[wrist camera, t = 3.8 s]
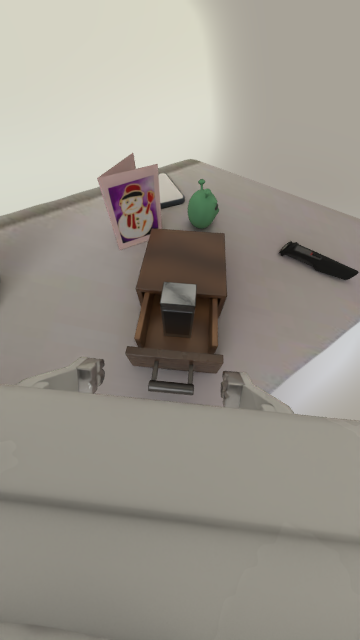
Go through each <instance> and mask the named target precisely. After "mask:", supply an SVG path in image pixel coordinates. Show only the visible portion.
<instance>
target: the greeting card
mask: <svg viewBox="0 0 360 640" xmlns="http://www.w3.org/2000/svg"><path fill="white" fill-rule="evenodd" d="M97 179H98V182H99V185H100V189H101V192H102V195H103V198H104V201H105V205H106V208H107V211H108V214H109V217H110V221H111V224H112V227H113V230H114V233H115V237H116V240H117V243H118V246H119V249H120V250H122V249H125V248H128V247H131V246H134V245H136V244H139V243H142V242H145V241H148V240H149V237H150V233H151V229H152V228H153V229H162V220H161V206H160V192H159V178H158V165H157V164H155V165H151V166H147V167H142V168H138V169H136V167H135V161H134V155H133V153H132V154H131V155H129V156H128V157H126V158H125V159H124V160H122V161H121V162H119V163H118V164H117V165H115V166H114V167H112V168H111V169H109V170H108V171H107V172H105V173H104V174H102V175H101V176H100V177H98V178H97Z"/></svg>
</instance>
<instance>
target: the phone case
mask: <svg viewBox="0 0 360 640" xmlns="http://www.w3.org/2000/svg"><path fill="white" fill-rule="evenodd" d="M158 178H159V192H160V206H161V208H165V207H169V206H173V205H177V204H182V203H184V201H185V197H184V196H183V194H182V193H181V192H180V190H179V189H178V188H177V187H176V185H175V184H174V183H173V182H172V180H171V179H170V178H169V177H168V175H167V174H166V173H160V174H158Z"/></svg>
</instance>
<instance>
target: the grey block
mask: <svg viewBox="0 0 360 640" xmlns="http://www.w3.org/2000/svg"><path fill="white" fill-rule="evenodd" d="M196 291H197V284H186V283H173V282H164V283H163V288H162V294H161V300H160V308H161V315H162V323H163V330H164V336H172V337H183V338H191V334H192V327H193V320H194V313H195V307H196Z"/></svg>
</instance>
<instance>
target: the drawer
mask: <svg viewBox="0 0 360 640" xmlns="http://www.w3.org/2000/svg"><path fill="white" fill-rule="evenodd" d="M160 300H161V294H160V293H148V292H145V295H144V299H143V303H142V308H141V312H140V316H139V320H138V325H137V329H136V333H135V338H134V339H135V341H136V343H137V345H138V347H130V346H127V349H126V353H125V355H126V356H127V358H128V359H129V361H130V362H131V364H132V365H133V366H142V367H152V368H153V373H152V380H150V381H149V386H148V390H149V391H154V392H164V393H174V394H184V395H193V393H194V385H193V384H192V382H193V371H195V372H205V373H217V372H218V370H219V369H220V367H221V366H222V364H223V355H217V354H214V353H215V351H216V349H217V346H218V313H217V298H209V297H197V296H196V307H195V313H194V320H193V327H192V334H191V338H183V337H172V336H164V330H163V323H162V315H161V308H160ZM158 368H163V369H174V370H184V371H189V374H188V384H185V383H174V382H164V381H156V379H157V372H158Z"/></svg>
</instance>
